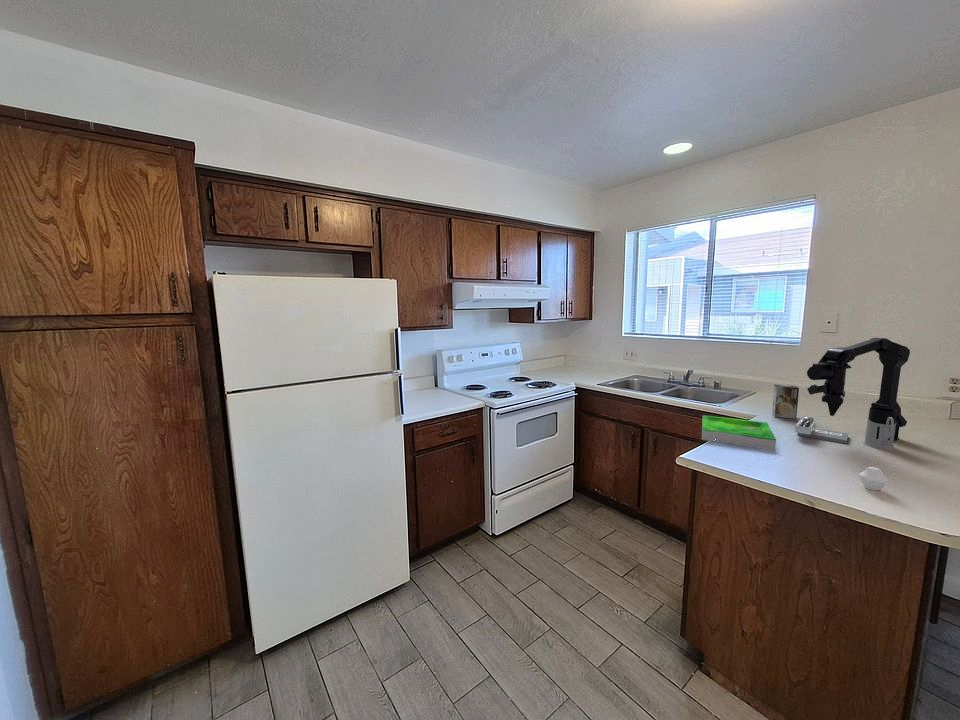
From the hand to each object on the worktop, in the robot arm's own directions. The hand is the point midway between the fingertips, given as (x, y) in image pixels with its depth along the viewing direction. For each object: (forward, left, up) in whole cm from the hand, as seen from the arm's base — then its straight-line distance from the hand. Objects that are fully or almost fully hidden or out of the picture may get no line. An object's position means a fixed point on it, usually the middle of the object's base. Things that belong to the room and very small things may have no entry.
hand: (831, 415), depth 156 cm
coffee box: (+19, -31, -11) cm, 38 cm away
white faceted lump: (-13, +48, -11) cm, 51 cm away
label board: (+2, -5, -11) cm, 12 cm away
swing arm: (+8, 0, -9) cm, 12 cm away
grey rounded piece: (-15, -3, -11) cm, 19 cm away
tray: (+29, +21, -11) cm, 38 cm away
